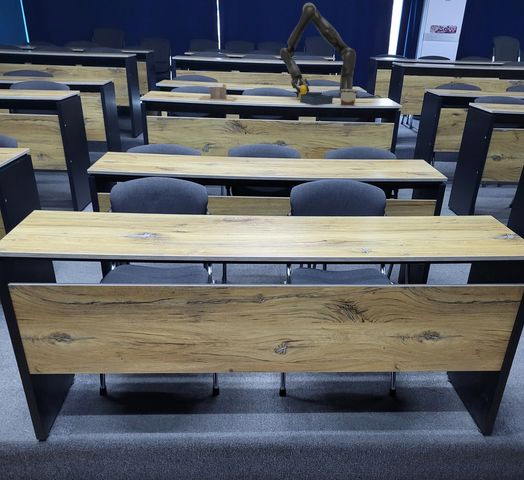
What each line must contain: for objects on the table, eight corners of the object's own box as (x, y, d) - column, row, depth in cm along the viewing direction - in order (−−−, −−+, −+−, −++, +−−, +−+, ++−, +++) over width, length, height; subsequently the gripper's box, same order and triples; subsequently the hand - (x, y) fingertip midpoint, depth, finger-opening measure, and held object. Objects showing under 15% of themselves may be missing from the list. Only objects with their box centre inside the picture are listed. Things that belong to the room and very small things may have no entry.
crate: (318, 100, 389) (318, 92, 386) (332, 103, 379) (333, 95, 376) (299, 101, 380) (300, 94, 377) (314, 105, 370) (314, 97, 367)
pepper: (302, 98, 393) (303, 83, 387) (307, 99, 390) (308, 84, 384) (296, 99, 391) (297, 83, 385) (301, 100, 387) (302, 84, 381)
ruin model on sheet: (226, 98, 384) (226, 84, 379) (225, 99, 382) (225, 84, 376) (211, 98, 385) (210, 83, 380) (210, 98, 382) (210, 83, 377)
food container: (355, 104, 377) (357, 89, 371) (356, 105, 372) (357, 90, 366) (338, 103, 378) (340, 88, 372) (338, 105, 372) (340, 89, 367)
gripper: (290, 69, 381) (299, 89, 380) (305, 69, 388) (313, 88, 387) (285, 77, 387) (294, 96, 386) (300, 76, 394) (308, 94, 393)
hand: (303, 92), depth 386 cm, fingers open, 8 cm apart
